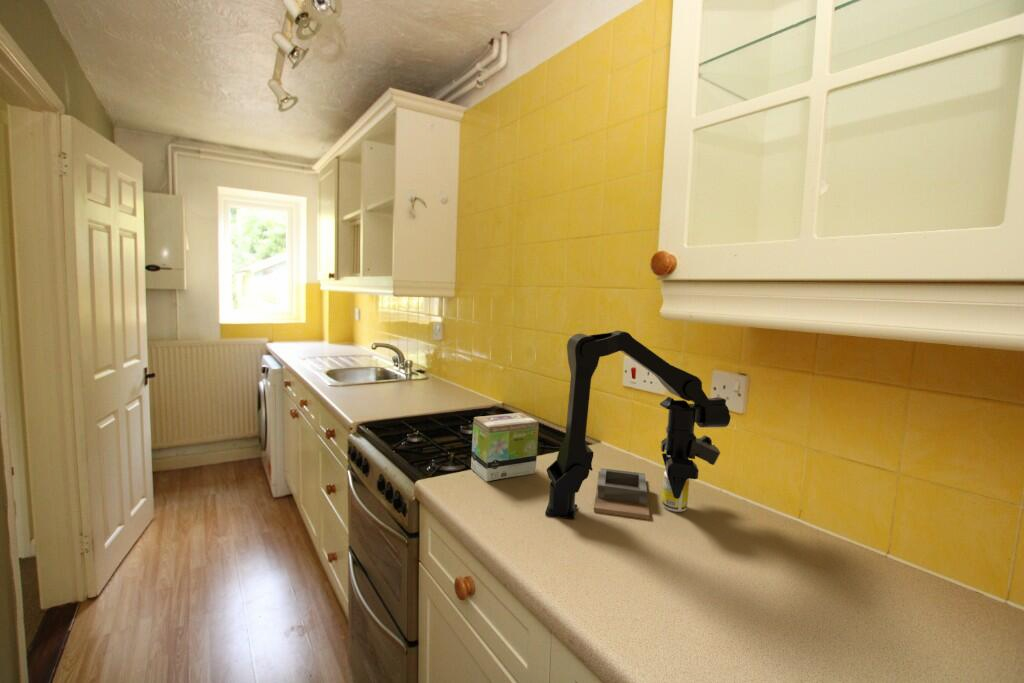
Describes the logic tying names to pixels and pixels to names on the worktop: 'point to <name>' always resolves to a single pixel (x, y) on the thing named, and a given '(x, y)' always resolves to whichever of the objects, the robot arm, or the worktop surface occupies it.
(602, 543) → the worktop surface
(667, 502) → the supplement bottle
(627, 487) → the board
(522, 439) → the tea box
